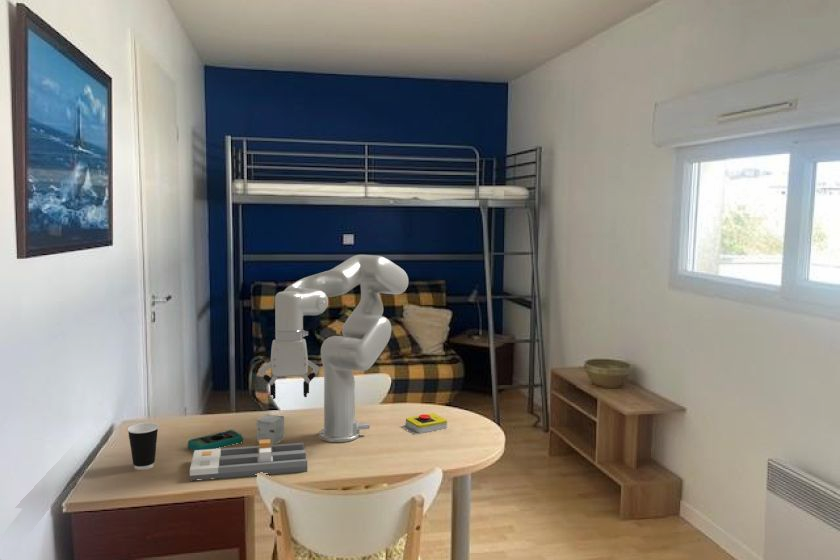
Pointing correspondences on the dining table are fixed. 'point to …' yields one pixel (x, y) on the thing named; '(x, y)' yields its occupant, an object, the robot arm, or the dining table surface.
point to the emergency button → (425, 423)
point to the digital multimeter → (215, 440)
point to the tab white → (265, 455)
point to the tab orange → (264, 444)
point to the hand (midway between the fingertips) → (289, 396)
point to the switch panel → (247, 461)
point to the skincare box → (270, 428)
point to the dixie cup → (143, 444)
